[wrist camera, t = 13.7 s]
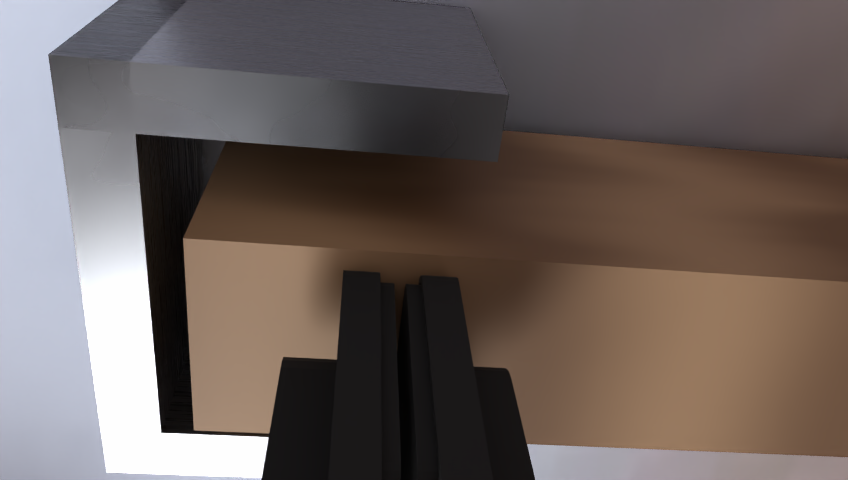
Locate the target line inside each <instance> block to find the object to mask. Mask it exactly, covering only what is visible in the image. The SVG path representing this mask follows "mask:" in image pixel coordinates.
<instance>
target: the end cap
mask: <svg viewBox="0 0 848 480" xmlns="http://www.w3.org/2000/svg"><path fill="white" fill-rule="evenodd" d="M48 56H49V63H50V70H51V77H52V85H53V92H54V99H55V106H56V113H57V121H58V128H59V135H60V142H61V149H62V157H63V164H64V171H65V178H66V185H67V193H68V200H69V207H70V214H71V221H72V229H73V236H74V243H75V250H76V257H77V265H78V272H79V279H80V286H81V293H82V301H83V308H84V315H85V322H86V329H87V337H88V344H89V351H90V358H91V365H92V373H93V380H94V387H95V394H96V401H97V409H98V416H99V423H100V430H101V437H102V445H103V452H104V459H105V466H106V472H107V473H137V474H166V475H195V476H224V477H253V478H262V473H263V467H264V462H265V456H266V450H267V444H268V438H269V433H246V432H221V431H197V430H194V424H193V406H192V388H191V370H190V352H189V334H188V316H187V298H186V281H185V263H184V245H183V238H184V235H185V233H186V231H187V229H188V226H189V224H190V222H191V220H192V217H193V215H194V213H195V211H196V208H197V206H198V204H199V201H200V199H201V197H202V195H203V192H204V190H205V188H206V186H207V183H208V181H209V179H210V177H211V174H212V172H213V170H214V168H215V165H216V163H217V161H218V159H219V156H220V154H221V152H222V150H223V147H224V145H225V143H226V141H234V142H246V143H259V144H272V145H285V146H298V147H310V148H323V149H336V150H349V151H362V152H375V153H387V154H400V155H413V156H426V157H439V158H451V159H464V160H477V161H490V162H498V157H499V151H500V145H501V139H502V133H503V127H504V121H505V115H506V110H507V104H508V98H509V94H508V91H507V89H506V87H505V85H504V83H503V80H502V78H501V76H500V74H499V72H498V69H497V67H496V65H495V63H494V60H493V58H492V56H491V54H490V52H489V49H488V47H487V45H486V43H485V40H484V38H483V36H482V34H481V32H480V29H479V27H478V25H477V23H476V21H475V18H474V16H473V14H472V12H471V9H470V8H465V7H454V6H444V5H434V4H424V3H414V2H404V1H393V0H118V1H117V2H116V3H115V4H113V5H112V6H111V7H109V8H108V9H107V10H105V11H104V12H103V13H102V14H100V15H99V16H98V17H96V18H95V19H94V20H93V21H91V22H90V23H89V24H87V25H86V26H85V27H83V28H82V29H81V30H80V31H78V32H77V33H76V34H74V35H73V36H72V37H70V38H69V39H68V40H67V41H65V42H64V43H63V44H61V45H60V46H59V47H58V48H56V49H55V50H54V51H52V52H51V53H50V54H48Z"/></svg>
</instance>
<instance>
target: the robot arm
mask: <svg viewBox="0 0 848 480" xmlns="http://www.w3.org/2000/svg"><path fill="white" fill-rule="evenodd" d="M261 480H535V477H534V473H533V468H532V464H531V460H530V456H529V451H528V447H527V443H526V439H525V434H524V430H523V426H522V421H521V417H520V413H519V409H518V404H517V400H516V396H515V392H514V387H513V383H512V379H511V376H510V373H509V371H508V370H507V369H506V368H493V367H474V366H473V360H472V354H471V349H470V343H469V337H468V331H467V325H466V320H465V314H464V308H463V302H462V296H461V290H460V285H459V280H458V278H457V277H445V276H429V275H421V276H420V278H419V284H418V285H416V284H406V285H405V289H404V297H403V306H402V315H401V323H400V332H399V341H398V350H397V340H396V312H395V286H394V283H384V282H380V272H365V271H349V270H343V281H342V295H341V309H340V323H339V336H338V350H337V360H336V359H316V358H296V357H283V359H282V363H281V368H280V374H279V380H278V386H277V391H276V397H275V403H274V409H273V415H272V421H271V427H270V432H269V438H268V444H267V450H266V456H265V462H264V467H263V473H262V479H261Z"/></svg>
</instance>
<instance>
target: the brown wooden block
mask: <svg viewBox="0 0 848 480" xmlns="http://www.w3.org/2000/svg"><path fill="white" fill-rule="evenodd" d="M183 245H184V263H185V281H186V298H187V316H188V334H189V352H190V370H191V388H192V406H193V424H194V430H197V431H221V432H246V433H269V432H270V427H271V421H272V415H273V409H274V403H275V397H276V391H277V386H278V380H279V374H280V368H281V363H282V359H283V357H296V358H316V359H336V360H337V350H338V336H339V323H340V309H341V295H342V281H343V270H349V271H365V272H380V282H384V283H394V286H395V312H396V340H397V350H398V341H399V332H400V323H401V315H402V306H403V297H404V289H405V285H406V284H416V285H418V284H419V278H420V276H421V275H429V276H445V277H457V278H458V280H459V285H460V290H461V296H462V302H463V308H464V314H465V320H466V325H467V331H468V337H469V343H470V349H471V354H472V360H473V366H474V367H493V368H506V369H507V370H508V371H509V373H510V376H511V379H512V383H513V387H514V392H515V396H516V400H517V404H518V409H519V413H520V417H521V421H522V426H523V430H524V434H525V439H526V443H527V444H540V445H565V446H589V447H614V448H638V449H663V450H687V451H712V452H736V453H761V454H785V455H810V456H834V457H848V159H842V158H830V157H817V156H805V155H793V154H781V153H769V152H757V151H745V150H733V149H721V148H709V147H697V146H685V145H673V144H661V143H649V142H637V141H625V140H613V139H601V138H589V137H577V136H565V135H553V134H541V133H529V132H517V131H505V130H503V133H502V139H501V145H500V151H499V157H498V162H490V161H477V160H464V159H451V158H439V157H426V156H413V155H400V154H387V153H375V152H362V151H349V150H336V149H323V148H310V147H298V146H285V145H272V144H259V143H246V142H234V141H226V143H225V145H224V147H223V150H222V152H221V154H220V156H219V159H218V161H217V163H216V165H215V168H214V170H213V172H212V174H211V177H210V179H209V181H208V183H207V186H206V188H205V190H204V192H203V195H202V197H201V199H200V201H199V204H198V206H197V208H196V211H195V213H194V215H193V217H192V220H191V222H190V224H189V226H188V229H187V231H186V233H185V235H184V238H183Z"/></svg>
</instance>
